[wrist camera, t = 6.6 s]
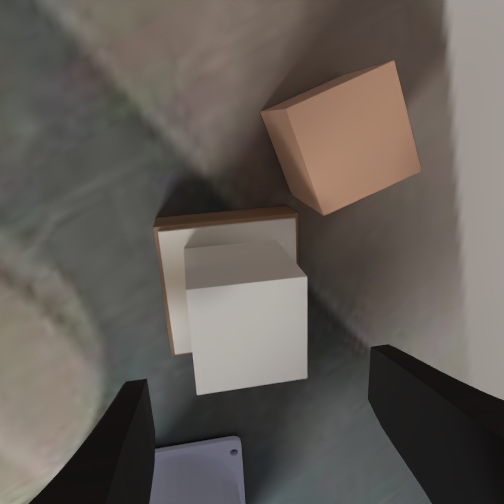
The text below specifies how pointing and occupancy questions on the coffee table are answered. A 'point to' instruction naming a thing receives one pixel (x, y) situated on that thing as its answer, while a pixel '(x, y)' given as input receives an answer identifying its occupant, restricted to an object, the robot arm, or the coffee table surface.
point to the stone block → (245, 315)
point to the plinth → (210, 234)
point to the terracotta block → (344, 138)
